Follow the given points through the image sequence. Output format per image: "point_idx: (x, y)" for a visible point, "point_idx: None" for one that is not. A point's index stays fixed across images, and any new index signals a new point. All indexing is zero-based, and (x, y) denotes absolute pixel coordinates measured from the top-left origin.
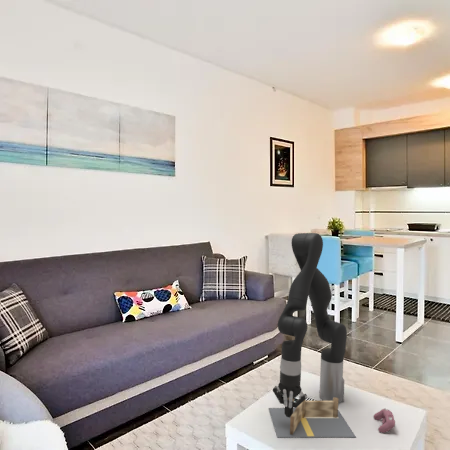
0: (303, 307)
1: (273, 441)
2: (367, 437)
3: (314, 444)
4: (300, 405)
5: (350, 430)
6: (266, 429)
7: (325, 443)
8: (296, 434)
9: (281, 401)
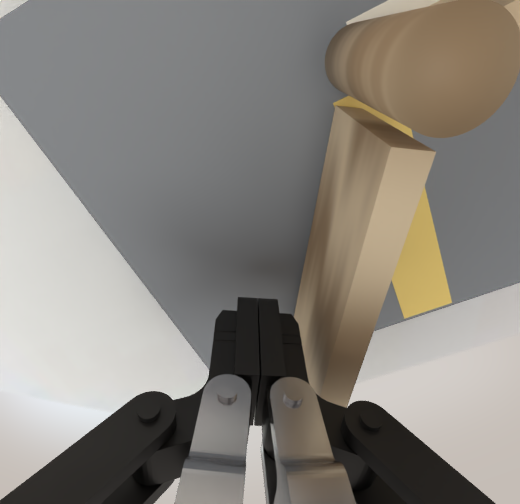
0: None
1: None
2: None
3: (440, 351)
4: (395, 260)
5: None
6: (127, 336)
7: (513, 321)
8: None
9: (155, 483)
